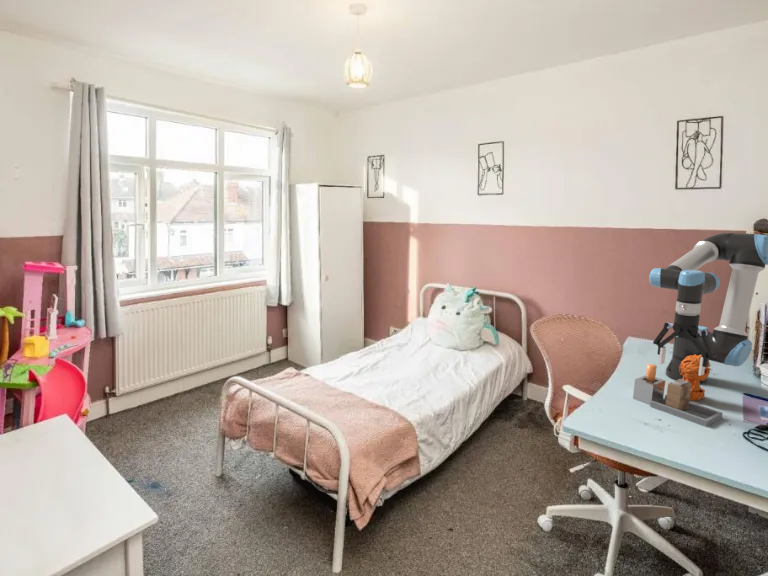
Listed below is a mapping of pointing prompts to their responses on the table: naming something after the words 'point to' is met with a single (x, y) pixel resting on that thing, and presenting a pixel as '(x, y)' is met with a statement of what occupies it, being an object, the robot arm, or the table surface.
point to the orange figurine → (694, 375)
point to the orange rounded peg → (651, 372)
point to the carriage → (678, 394)
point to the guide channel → (705, 422)
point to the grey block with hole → (648, 390)
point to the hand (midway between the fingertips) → (680, 369)
